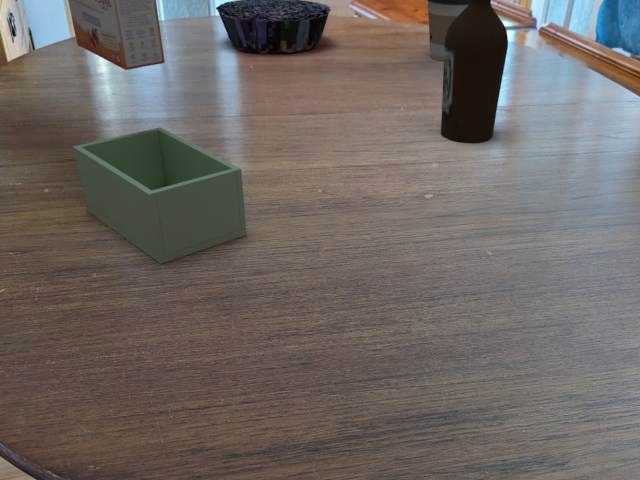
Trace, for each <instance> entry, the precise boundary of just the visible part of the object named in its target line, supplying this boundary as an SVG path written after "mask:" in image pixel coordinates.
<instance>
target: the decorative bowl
mask: <svg viewBox="0 0 640 480" xmlns="http://www.w3.org/2000/svg"><path fill="white" fill-rule="evenodd" d="M215 9H216V10H217V13H218V15H219V17H220V19H221V22H222V24H223V27H224V29H225V32H226V34H227V36H228V39H229V41H230V43H231V44H232V45H233V46H234V47H235V48H236V49H237V50H239V51H242V52H247V53H251V54H255V53H256V54H257V53H260V54H276V53H277V54H278V53H282V54H294V53H301V52H307V51H311V49H316V48H317V47H318V46H319V45H320V44H321V40H322V37H323V35H324V34H323V33H324V31H325V27H326V23H327V21H328V17H329V15H330V13H331V11H332V9H331V7H330V6H329V5H327V4H324V3H320V2H317V1H310V0H232V1H226V2H224V3H220V4H219V5H218V6H216V7H215Z"/></svg>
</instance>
